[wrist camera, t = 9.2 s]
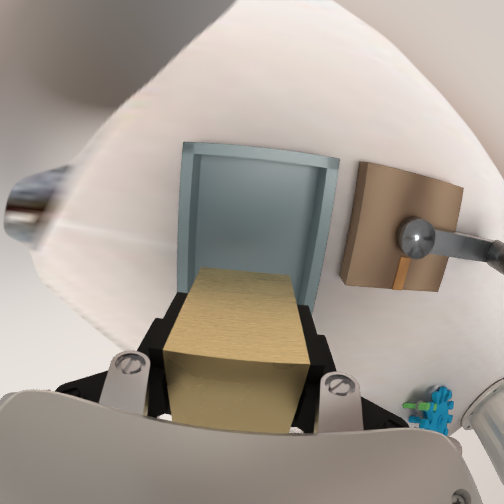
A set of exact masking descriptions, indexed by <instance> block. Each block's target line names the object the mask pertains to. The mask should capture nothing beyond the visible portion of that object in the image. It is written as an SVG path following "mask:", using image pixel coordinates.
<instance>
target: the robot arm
mask: <svg viewBox="0 0 504 504" xmlns="http://www.w3.org/2000/svg"><path fill="white" fill-rule="evenodd" d="M187 296H188V293H183V292H177V294H176V296H175V297H174V299H173V301H172V303H171V305H170V307H169V309H168V310H167V312H166V314H165V316H164V318H163V319H160V318H155V320H154V321H153V323H152V325H151V326H150V328H149V330H148V332H147V333H146V335H145V337H144V339H143V341H142V342H141V344H140V346H139V348H138V350H137V351H124V352H121V353H119V354H117V355H116V356H115V357H113V359H112V361H111V364H110V367H109V370H108V371H105V372H102V373H98V374H95V375H92V376H89V377H85V378H82V379H79V380H76V381H72V382H68V383H65V384H63V385H61V386H59V387H58V388H57V389H56V390H55V392H54V391H50V390H23V391H20V392H16V393H15V392H14V393H8V394H6V395H4V396H3V397H2V398H1V400H0V504H483V503H482V500H481V497H480V495H479V492H478V489H477V487H476V484H475V482H474V480H473V478H472V475H471V473H470V471H469V469H468V467H467V465H466V463H465V461H464V459H463V457H462V447H461V445H460V443H459V442H458V441H457V440H456V439H454V438H452V437H448V436H445V435H443V434H441V433H439V432H436V431H432V430H426V429H420V428H417V427H414V428H409V426H408V424H407V423H406V422H405V420H403V419H402V418H400V417H398V416H396V415H395V414H393V413H391V412H389V411H387V410H385V409H383V408H381V407H379V406H378V405H376V404H374V403H372V402H370V401H368V400H367V399H365V398H363V397H361V396H360V387H359V384H358V382H357V381H356V379H355V378H353V377H352V376H351V375H349V374H346V373H343V372H337V371H336V368H335V365H334V362H333V358H332V355H331V352H330V349H329V346H328V343H327V340H326V337H325V336H324V335H317V332H316V329H315V325H314V322H313V319H312V315H311V312H310V309H309V306H308V305H298V304H297V308H298V312H299V316H300V321H301V325H302V329H303V334H304V338H305V343H306V347H307V352H308V356H309V361H310V367H309V370H308V373H307V377H306V380H305V384H304V387H303V390H302V393H301V397H300V400H299V403H298V406H297V409H296V412H295V415H294V418H293V421H292V424H291V427H298V428H299V429H301V430H302V432H301V433H268V432H251V431H238V430H228V429H219V428H211V427H203V426H197V425H190V424H184V423H178V422H173V421H168V420H163V419H160V418H159V416H160V415H162V414H170V415H171V409H170V402H169V396H168V389H167V381H166V374H165V365H164V356H163V348H164V346H165V344H166V341H167V339H168V337H169V335H170V333H171V330H172V328H173V326H174V324H175V321H176V319H177V317H178V315H179V313H180V311H181V308H182V306H183V304H184V302H185V300H186V298H187ZM462 426H463V428H464V429H465V430H471V429H474V430H475V432H476V434H477V436H478V437H479V439H480V441H481V443H482V445H483V446H484V449H485V450H486V452H487V454H488V456H489V458H490V460H491V462H492V464H493V465H494V468H495V470H496V472H497V474H498V476H499V478H500V480H501V482H502V483H503V485H504V379H502V380H500V381H498V382H497V383H495V384H494V385H492V386H491V387H490V388H488V389H487V390H486V391H485V392H484V393H483V394H482V395H481V396H480V397H479V398H478V399H477V400H476V401H475V402H474V403H473V404H472V405H471V406H470V408H469V409H468V410H467V412H466V413H465V415H464V417H463V419H462Z"/></svg>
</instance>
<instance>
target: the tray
mask: <svg viewBox="0 0 504 504" xmlns="http://www.w3.org/2000/svg"><path fill="white" fill-rule="evenodd" d="M339 161H340V159H339V158H333V157H327V156H321V155H315V154H309V153H302V152H295V151H288V150H280V149H272V148H263V147H253V146H242V145H230V144H217V143H199V142H183V151H182V163H181V177H180V194H179V215H178V248H177V292H183V293H189V291H190V289H191V287H192V285H193V283H194V281H195V279H196V277H197V274H198V272H199V270H200V268H201V267H208V268H218V269H228V270H238V271H249V272H259V273H270V274H281V275H290V279H291V283H292V287H293V291H294V295H295V299H296V304H298V305H308V306H309V309H310V312H311V315H312V312H313V308H314V304H315V299H316V295H317V290H318V285H319V281H320V276H321V271H322V266H323V261H324V255H325V250H326V245H327V239H328V234H329V228H330V222H331V216H332V210H333V204H334V197H335V190H336V184H337V176H338V169H339Z"/></svg>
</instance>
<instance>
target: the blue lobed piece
mask: <svg viewBox="0 0 504 504" xmlns="http://www.w3.org/2000/svg"><path fill="white" fill-rule="evenodd" d="M451 397H452V393H451V390H450V391H447V388H446V387H440V389H439V391H435V392H433V393H432V402H428V403H425V401H418V402H417V403H416V404H414V403H404V404H403V408H410V409H415V411H416V412H417V414H418V415H419V417H418V416H410V417H409V420H408V421H409V422H411V423H420V425H419V428H424V429H426V430H432V431H436V432H439V433H441V434H443V435H445V436H447V434H448V429H447V423H451V421H452V417H453V415H449V414H448V410H449V409H453V405H454V401H448V399H451ZM447 401H448V402H447Z"/></svg>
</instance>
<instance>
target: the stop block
mask: <svg viewBox="0 0 504 504" xmlns="http://www.w3.org/2000/svg"><path fill="white" fill-rule="evenodd" d="M163 356H164V365H165V374H166V381H167V389H168V396H169V402H170V409H171V415H172V421H173V422H178V423H184V424H190V425H197V426H203V427H211V428H219V429H228V430H238V431H251V432H268V433H289V430H290V427H291V424H292V421H293V418H294V415H295V412H296V409H297V406H298V403H299V400H300V397H301V393H302V390H303V387H304V384H305V380H306V377H307V373H308V370H309V367H310V361H309V356H308V352H307V347H306V343H305V338H304V334H303V329H302V325H301V321H300V316H299V312H298V308H297V304H296V299H295V295H294V291H293V287H292V283H291V279H290V275H281V274H270V273H259V272H249V271H238V270H228V269H218V268H208V267H201V268H200V270H199V272H198V274H197V277H196V279H195V281H194V283H193V285H192V287H191V289H190V291H189V293H188V296H187V298H186V300H185V302H184V304H183V306H182V308H181V311H180V313H179V315H178V317H177V319H176V321H175V324H174V326H173V328H172V330H171V333H170V335H169V337H168V339H167V341H166V344H165V346H164V348H163Z"/></svg>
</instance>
